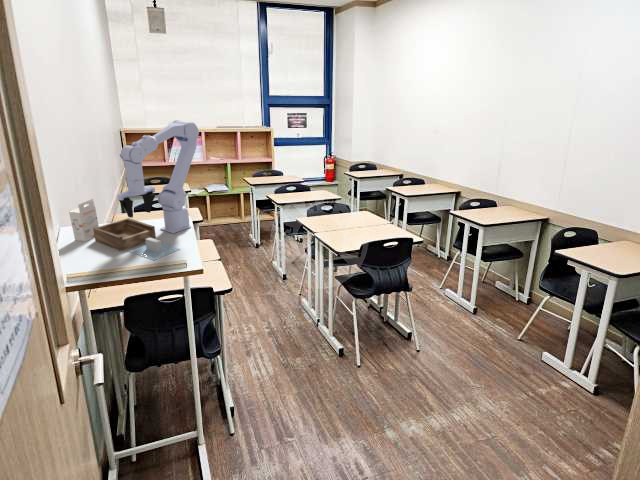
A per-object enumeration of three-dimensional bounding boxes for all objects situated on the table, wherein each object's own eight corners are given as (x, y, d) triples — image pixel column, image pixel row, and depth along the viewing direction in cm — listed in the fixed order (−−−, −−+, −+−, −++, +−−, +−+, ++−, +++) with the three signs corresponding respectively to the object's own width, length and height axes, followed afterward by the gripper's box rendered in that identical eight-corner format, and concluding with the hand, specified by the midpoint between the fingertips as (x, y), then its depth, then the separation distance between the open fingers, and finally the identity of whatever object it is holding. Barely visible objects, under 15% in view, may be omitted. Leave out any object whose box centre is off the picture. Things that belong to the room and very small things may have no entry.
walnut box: (130, 230, 177) (128, 218, 175) (155, 238, 169) (154, 226, 167) (95, 241, 165) (93, 228, 163) (121, 251, 157) (119, 237, 155)
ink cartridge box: (89, 232, 173) (83, 197, 167) (100, 234, 172) (94, 198, 166) (74, 240, 165) (66, 203, 160) (85, 242, 164) (78, 204, 159)
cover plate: (155, 242, 167) (153, 231, 165) (180, 250, 161) (179, 238, 159) (128, 253, 157) (126, 240, 156) (154, 262, 151) (152, 249, 149)
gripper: (145, 174, 166) (148, 207, 171) (110, 180, 155) (115, 217, 160) (157, 176, 163) (160, 211, 168) (122, 184, 152) (127, 220, 156)
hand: (139, 214), depth 164 cm, fingers open, 7 cm apart
